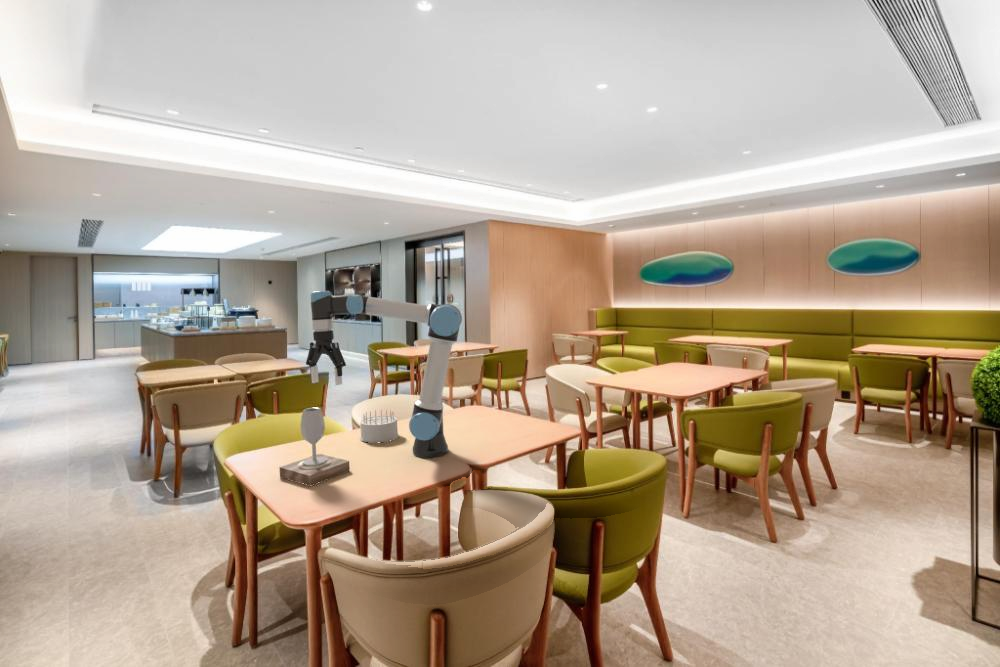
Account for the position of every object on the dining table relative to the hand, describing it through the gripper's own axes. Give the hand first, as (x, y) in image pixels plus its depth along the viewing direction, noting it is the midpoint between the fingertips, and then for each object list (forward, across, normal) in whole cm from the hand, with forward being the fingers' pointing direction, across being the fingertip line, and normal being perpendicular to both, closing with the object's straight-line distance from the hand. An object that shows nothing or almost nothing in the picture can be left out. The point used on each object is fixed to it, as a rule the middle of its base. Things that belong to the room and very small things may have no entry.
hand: (326, 383), depth 200 cm
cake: (+34, +11, -38) cm, 52 cm away
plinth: (+34, -1, +10) cm, 35 cm away
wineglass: (+29, -2, +10) cm, 31 cm away
